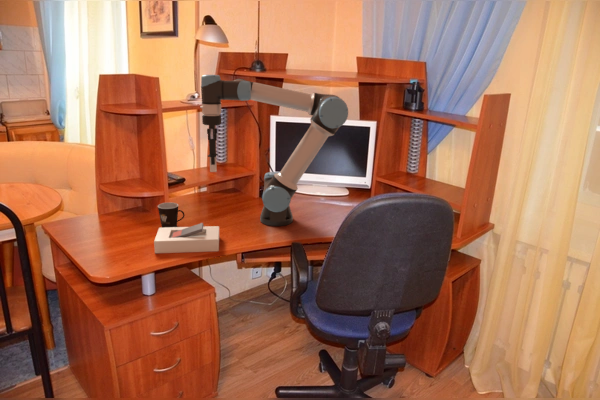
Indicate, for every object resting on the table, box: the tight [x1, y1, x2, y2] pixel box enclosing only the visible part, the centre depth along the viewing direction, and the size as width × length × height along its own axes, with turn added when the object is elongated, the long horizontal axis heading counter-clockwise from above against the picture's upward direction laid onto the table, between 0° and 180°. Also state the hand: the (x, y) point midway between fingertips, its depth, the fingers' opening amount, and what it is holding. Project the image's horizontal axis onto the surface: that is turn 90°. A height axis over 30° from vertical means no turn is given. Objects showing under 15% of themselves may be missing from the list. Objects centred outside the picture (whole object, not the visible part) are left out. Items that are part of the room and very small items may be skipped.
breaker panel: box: [153, 225, 220, 254], centre depth 176 cm, size 24×14×5 cm, turn 99°
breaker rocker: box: [171, 222, 205, 238], centre depth 175 cm, size 13×7×1 cm, turn 98°
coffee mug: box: [157, 201, 186, 228], centre depth 192 cm, size 12×9×10 cm
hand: (213, 171), depth 185 cm, fingers closed
